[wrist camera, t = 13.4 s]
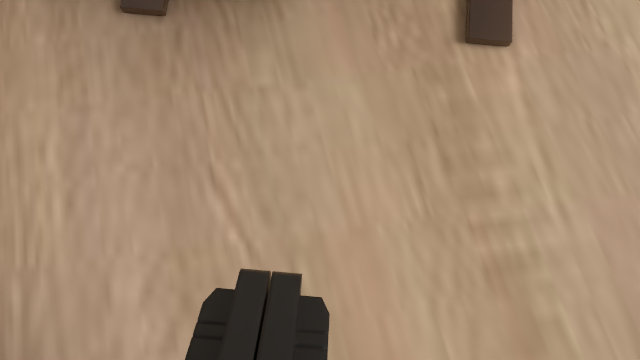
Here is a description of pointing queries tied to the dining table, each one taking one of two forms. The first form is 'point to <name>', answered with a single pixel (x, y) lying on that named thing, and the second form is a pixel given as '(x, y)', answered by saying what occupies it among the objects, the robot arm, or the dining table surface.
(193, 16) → the dining table surface
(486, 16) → the walnut frame
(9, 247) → the dining table surface
